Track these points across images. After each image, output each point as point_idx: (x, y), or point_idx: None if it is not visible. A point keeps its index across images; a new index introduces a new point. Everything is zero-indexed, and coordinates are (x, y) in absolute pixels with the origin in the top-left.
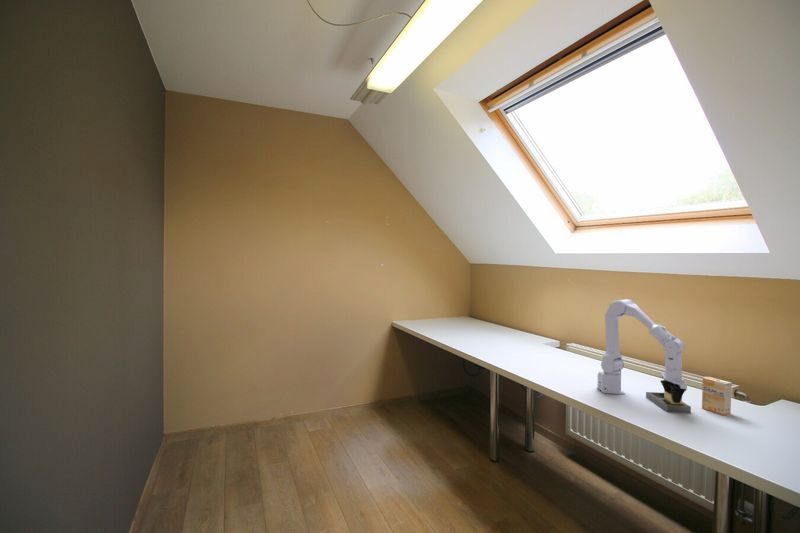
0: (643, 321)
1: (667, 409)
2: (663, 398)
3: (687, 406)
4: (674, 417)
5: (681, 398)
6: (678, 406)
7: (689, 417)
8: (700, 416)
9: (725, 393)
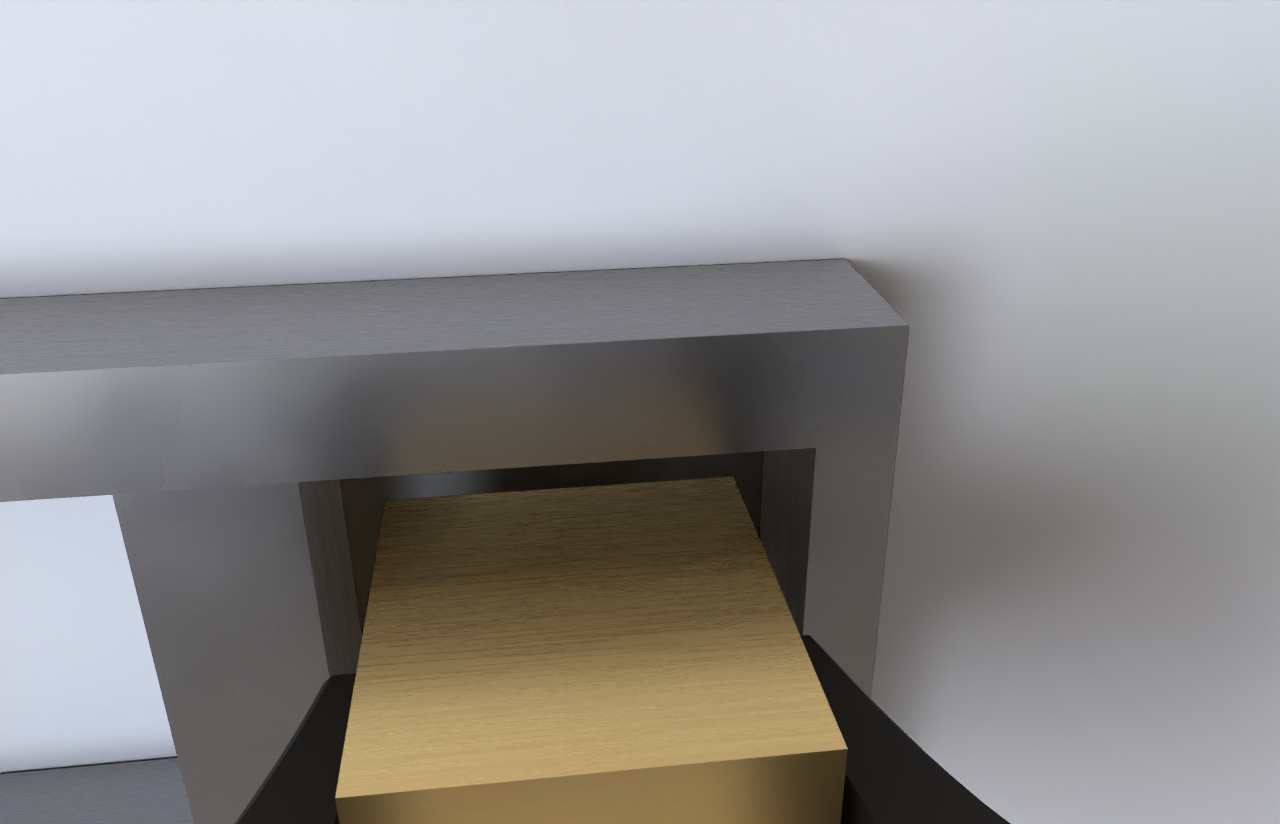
0: None
1: None
2: (233, 783)
3: (886, 416)
4: (1107, 748)
5: (804, 660)
6: (874, 651)
7: (1133, 455)
8: (1095, 128)
9: None
